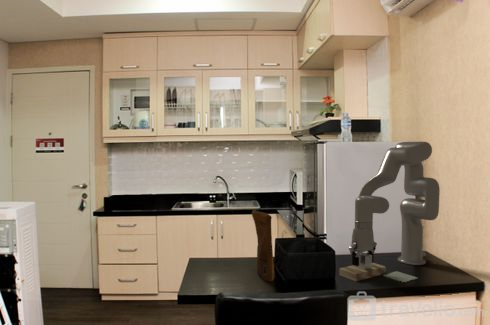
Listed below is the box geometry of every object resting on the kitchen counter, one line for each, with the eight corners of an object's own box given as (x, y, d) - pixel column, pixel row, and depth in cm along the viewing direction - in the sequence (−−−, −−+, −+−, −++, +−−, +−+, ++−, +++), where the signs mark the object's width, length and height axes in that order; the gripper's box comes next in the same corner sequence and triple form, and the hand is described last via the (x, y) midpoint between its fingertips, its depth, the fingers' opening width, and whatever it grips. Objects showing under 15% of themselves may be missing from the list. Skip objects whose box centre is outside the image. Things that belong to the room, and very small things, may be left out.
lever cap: (360, 264, 161) (360, 251, 161) (371, 268, 156) (372, 255, 156) (353, 266, 159) (354, 253, 158) (365, 270, 153) (365, 256, 153)
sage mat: (396, 272, 161) (396, 271, 161) (417, 278, 152) (417, 277, 152) (382, 275, 155) (382, 274, 155) (403, 282, 147) (403, 281, 147)
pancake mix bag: (262, 284, 144) (263, 215, 143) (250, 269, 162) (251, 208, 162) (278, 282, 145) (279, 214, 145) (264, 268, 164) (265, 208, 163)
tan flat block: (368, 267, 166) (368, 261, 166) (385, 273, 159) (385, 266, 159) (339, 275, 156) (339, 268, 156) (355, 281, 148) (355, 274, 148)
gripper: (369, 222, 165) (368, 258, 165) (343, 225, 155) (342, 264, 156) (383, 224, 158) (382, 263, 159) (357, 228, 149) (356, 269, 149)
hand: (362, 263), depth 157 cm, fingers open, 9 cm apart
